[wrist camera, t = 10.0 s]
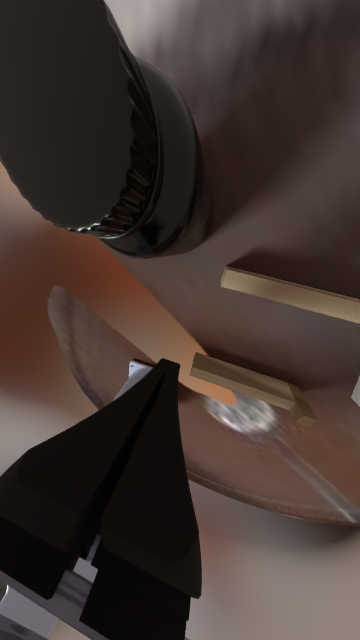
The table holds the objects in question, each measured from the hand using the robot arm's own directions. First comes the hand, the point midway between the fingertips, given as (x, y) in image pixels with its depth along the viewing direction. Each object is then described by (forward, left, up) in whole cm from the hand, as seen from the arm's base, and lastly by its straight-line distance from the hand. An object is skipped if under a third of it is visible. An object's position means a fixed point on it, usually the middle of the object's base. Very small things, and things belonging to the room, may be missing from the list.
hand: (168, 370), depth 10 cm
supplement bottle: (+10, +4, -10) cm, 14 cm away
